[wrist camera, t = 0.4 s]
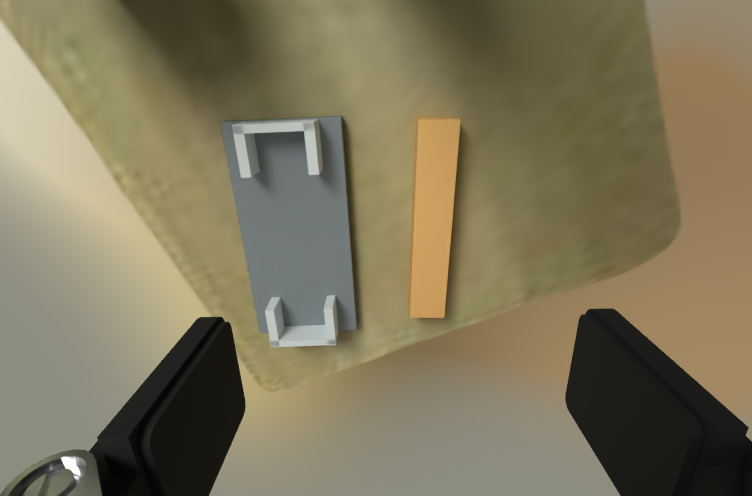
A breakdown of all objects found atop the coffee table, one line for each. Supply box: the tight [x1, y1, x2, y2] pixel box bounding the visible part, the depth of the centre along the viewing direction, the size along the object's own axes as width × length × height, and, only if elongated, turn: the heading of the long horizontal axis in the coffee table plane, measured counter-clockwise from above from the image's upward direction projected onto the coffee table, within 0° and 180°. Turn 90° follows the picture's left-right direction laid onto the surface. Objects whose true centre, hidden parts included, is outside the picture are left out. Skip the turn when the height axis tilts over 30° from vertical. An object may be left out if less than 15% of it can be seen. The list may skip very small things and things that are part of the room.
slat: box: [408, 117, 461, 318], centre depth 42 cm, size 22×4×4 cm, turn 0°
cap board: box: [220, 116, 357, 347], centre depth 42 cm, size 25×12×4 cm, turn 2°
